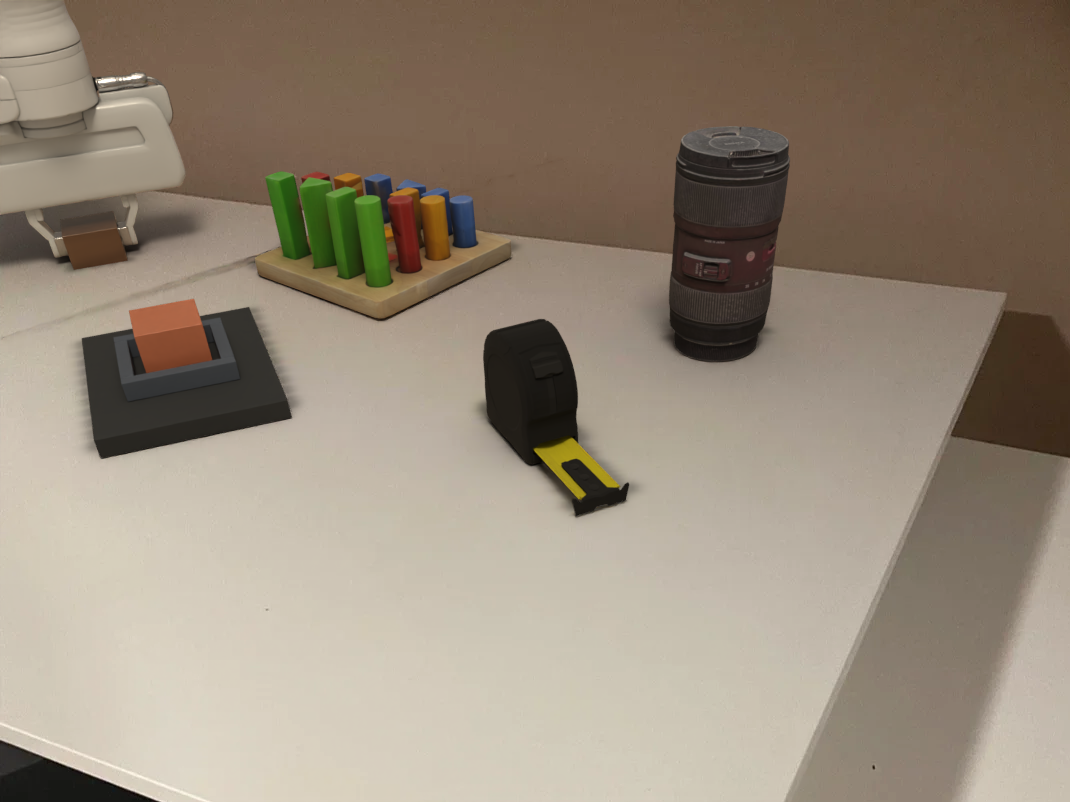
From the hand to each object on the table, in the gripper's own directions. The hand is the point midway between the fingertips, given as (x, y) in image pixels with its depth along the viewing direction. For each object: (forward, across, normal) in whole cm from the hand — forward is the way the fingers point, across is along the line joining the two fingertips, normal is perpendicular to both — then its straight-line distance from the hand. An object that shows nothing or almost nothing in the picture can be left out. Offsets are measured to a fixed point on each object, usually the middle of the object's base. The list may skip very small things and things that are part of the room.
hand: (96, 249), depth 97 cm
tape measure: (+2, -28, +51) cm, 58 cm away
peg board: (+2, -25, +13) cm, 28 cm away
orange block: (0, -5, +29) cm, 29 cm away
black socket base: (+2, -5, +29) cm, 29 cm away
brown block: (+2, 0, 0) cm, 2 cm away
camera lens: (+2, -46, +40) cm, 61 cm away
